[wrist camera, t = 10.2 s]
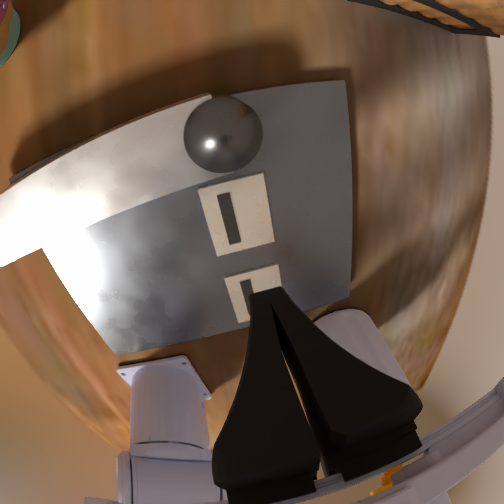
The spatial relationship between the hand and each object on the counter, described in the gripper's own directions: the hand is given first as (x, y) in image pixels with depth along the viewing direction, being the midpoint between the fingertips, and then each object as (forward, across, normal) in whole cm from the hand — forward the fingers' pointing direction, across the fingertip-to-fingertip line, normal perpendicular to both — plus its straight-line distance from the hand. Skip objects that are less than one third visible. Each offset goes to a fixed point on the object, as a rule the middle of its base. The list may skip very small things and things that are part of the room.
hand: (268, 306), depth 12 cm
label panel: (+9, +3, +2) cm, 10 cm away
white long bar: (+8, +7, -6) cm, 12 cm away
